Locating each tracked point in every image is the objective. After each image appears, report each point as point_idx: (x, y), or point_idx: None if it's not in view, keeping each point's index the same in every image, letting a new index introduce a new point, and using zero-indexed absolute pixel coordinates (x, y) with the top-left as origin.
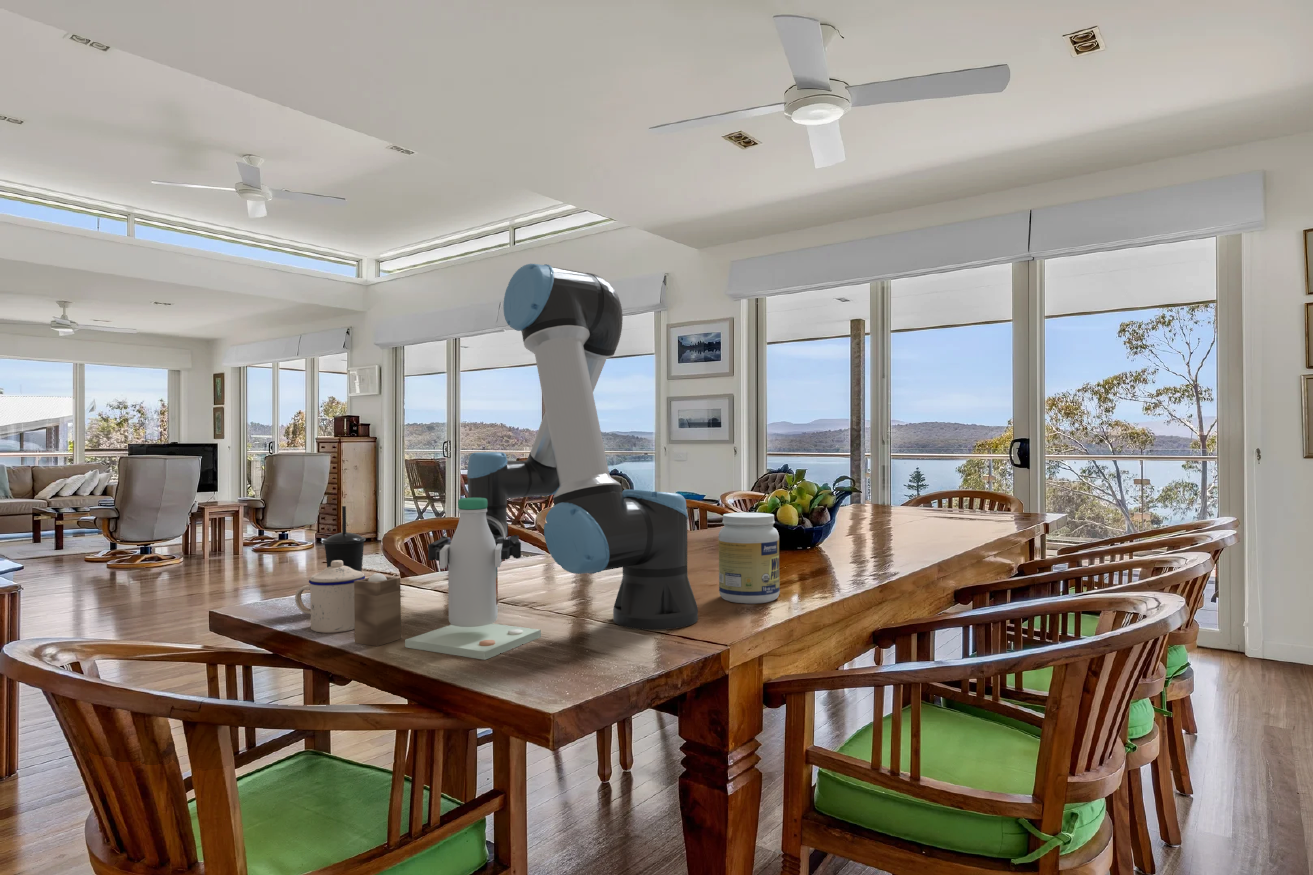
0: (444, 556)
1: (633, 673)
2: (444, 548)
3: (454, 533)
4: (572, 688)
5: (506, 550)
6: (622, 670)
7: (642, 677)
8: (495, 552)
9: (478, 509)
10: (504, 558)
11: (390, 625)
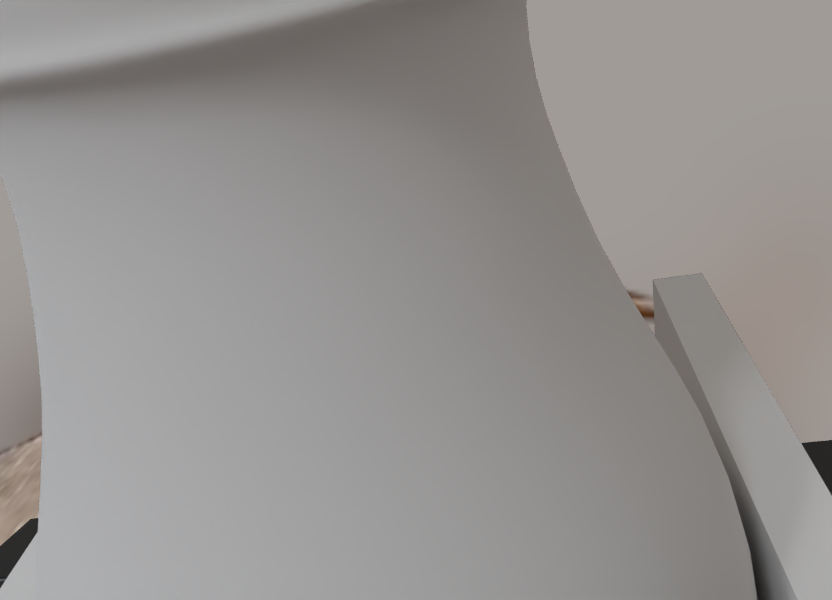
0: (655, 323)
1: (19, 473)
2: (725, 368)
3: (645, 322)
4: None
5: (36, 521)
6: (28, 494)
7: (21, 448)
8: None
9: (18, 55)
10: None
11: None
